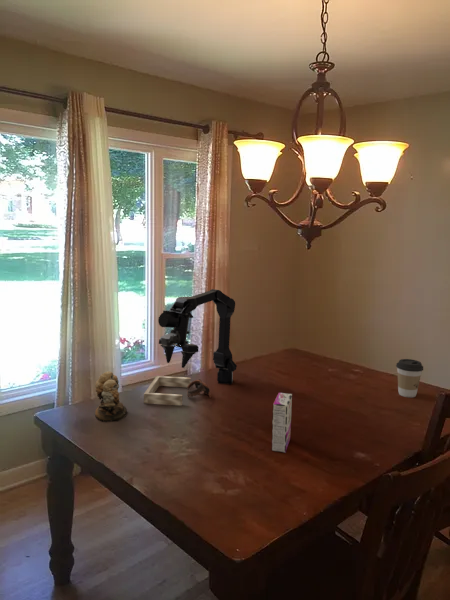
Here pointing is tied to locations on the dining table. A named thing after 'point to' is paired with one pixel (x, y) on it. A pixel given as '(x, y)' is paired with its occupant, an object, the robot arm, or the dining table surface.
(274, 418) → the candy bar box
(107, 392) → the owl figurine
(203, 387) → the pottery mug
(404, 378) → the coffee cup
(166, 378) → the birch bracket
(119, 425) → the dining table surface
